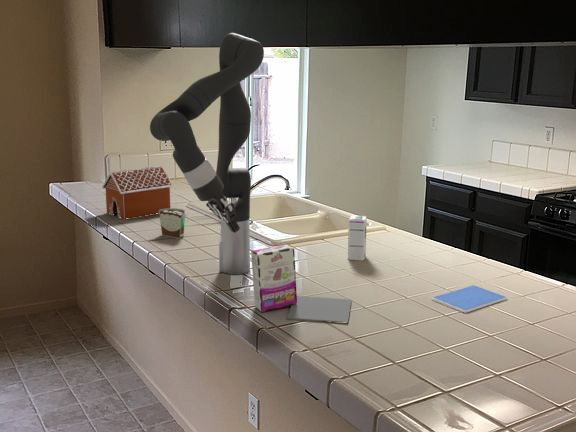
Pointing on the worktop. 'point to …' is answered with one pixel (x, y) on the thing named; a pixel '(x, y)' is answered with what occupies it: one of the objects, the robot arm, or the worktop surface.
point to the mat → (320, 309)
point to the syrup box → (357, 237)
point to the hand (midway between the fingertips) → (236, 230)
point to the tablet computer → (469, 298)
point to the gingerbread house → (137, 191)
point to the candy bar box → (274, 277)
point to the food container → (172, 222)
